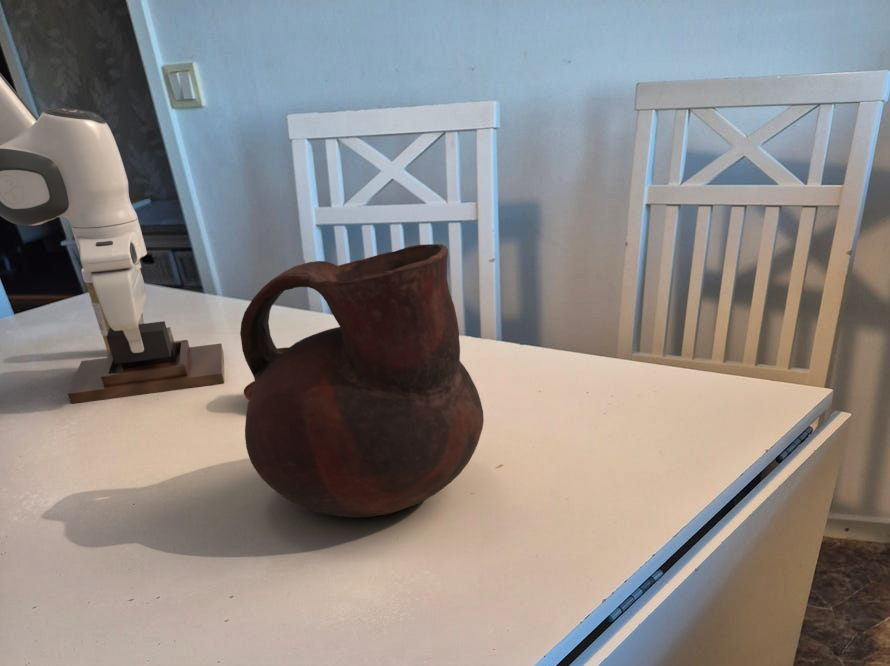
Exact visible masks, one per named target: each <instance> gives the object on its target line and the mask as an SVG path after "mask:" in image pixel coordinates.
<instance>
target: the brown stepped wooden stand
mask: <svg viewBox="0 0 890 666" xmlns="http://www.w3.org/2000/svg"><path fill="white" fill-rule="evenodd" d="M166 328H167V332H168V335H169V339H170V343H171V346H172V349H171V356H170V357H168V358H160V359H153V360H145V361H137V362H129V363H122V364H115V363H114V360H113V357H112V354H111V351H110V352H109V354H108V355H107V357H102V358H94V359H86V360H81V361H80V364H79V365H78V368H77V369H76V372H75V375H74V377H73V380H72V381H71V385H70V386H69V388H68V391H67V397H68V400H69V402H70V404H71V405H73V404H80V403H85V402H94V401H101V400H108V399H109V400H110V399H117V398H124V397H131V396H138V395H139V396H140V395H147V394H153V393H154V394H155V393H160V392H169V391H176V390H183V389H191V388H199V387H205V386H212V385H213V386H215V385H220V384H225V365H224V364H225V363H224V361H225V359H224V357H225V356H224V348H223V344H222V343H213V344H205V345H196V346H190V344H189V340H188V339H181V340H174V336H173V332H172V329H171V328H172V327H170V326H168V327H166Z"/></svg>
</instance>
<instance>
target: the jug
mask: <svg viewBox="0 0 890 666" xmlns="http://www.w3.org/2000/svg"><path fill="white" fill-rule="evenodd" d="M448 254H449V249H448V247H447V246H446V245H444V244H440V243H437V244H436V243H431V244H429V243H428V244H427V243H426V244H413V245H410V246H407V247H404V248H401V249H398V250H395V251H387V252H384V253H380V254H377V255H373V256H369V257H366V258H363V259H359V260H354V261H350V262H345V263H342V264H339V265H337V264H335V263H332V262H330V261H327V260H315V261H308V262H305V263H301V264H297V265H294V266H292V267H290V268H288V269H287V270H284V271H283V272H281V273H280V274H278V275H277V276H275V277H274V278H272V279H271V280H270V281H269V282H268V283H266V284H265V285H264V286H263V287H262V288H261V289H260V290H259V291H258V292H257V293H256V294H255V295H254V296H253V298H252V299H251V301H250V303H249V304H248V306H247V307H246V309H245V311H244V313H243V316H242V319H241V323H240V332H239V333H240V341H241V349H242V353H243V356H244V359H245V362H246V364H247V366H248V368H249V370H250V373H251V374H252V376H253V378H254V381H255V385H254V388H253V391H252V394H251V397H250V400H248V403H247V408H246V414H245V425H244V440H245V449H246V451H247V452H246V453H247V455H248V458H249V460H250V463H251V465H252V466H253V468H254V470H255V472H256V473H257V474H258V475H259V477H260V478H261V479H262V480H263V481H264V483H266V484H267V485H268V486H269V487H270V488H271V489H272V490H273V491H275V492H276V493H277V494H278V495H280V496H281V497H283V499H286V500H287V501H289V502H291V503H293V504H295V505H298V506H300V507H302V508H304V509H306V510H309V511H311V512H314V513H318V514H324V515H329V516H337V517H346V518H368V517H376V516H386V515H390V514H393V513H397V512H399V511H402V510H404V509H407V508H410V507H412V506H413V507H414V506H416V505H418V504H420V503H423V502H424V501H426V500H428V499H430V498H431V497H433V496H435V495H436V494H438V493H439V492H440V491H442V490H443V489H445V488H446V487H447V486H449V484H451V483H452V482H453V481H454V480H455V479H456V478H457V477H458V476H459V475H460V474H461V473H462V472H463V470H464V469H465V468H466V467H467V466H468V464H469V462H470V460H471V459H472V457H473V455H474V454H475V451H476V449H477V447H478V444H479V442H480V438H481V436H482V431H483V429H484V421H485V419H484V409H483V405H482V400H481V398H480V395H479V394H480V393H479V391H478V389H477V387H476V385H475V383H474V380H473V379H472V377H471V374H470V372H468V370H467V368H466V367H465V365H464V364H463V362H461V344H460V343H461V342H460V329H459V321H458V317H457V312H456V308H455V304H454V301H453V298H452V296H451V293H450V289H449V288H450V287H449V281H448V256H449V255H448ZM296 288H297V289H298V288H310V289H311V290H312V289H313V290H314V291H316V292H317V293H319V295H321V297H322V298H323V299H324V300H325V302H326V304H327V306H328V308H329V310H330V312H331V314H332V316H333V317H334V319H335V321H336V323H337V324H338V326H336V327H333V328H329V329H326V330H322V331H320V332H316V333H315V334H314V333H313V334H311V335H308V336H306V337H304V338H302V339H300V340H299V341H297V342H294V343H293V344H292V345H291V346H289V348H288V349H287V350H286V351H285V352H283V353H281V352H279V351H278V350H277V348H278V347H276V345H275V343H274V340H273V338H272V336H271V329H270V324H269V322H270V315H271V314H270V313H271V309H272V307H273V306H274V304H275V303H276V302H277V300H278V299H279V297H280V296H281V295H282V294H284V292H285V291H289V290H293V289H296Z"/></svg>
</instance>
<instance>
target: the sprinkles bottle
mask: <svg viewBox="0 0 890 666" xmlns="http://www.w3.org/2000/svg"><path fill="white" fill-rule="evenodd" d="M80 273H81V276H82V279H83V282H84V283H85V285H86V288H87V291H88V294H89V297H90V302H91V305H92V309H93V312H94V315H95V318H96V322H97V325H98V328H99V331H100V333H101V335H102V338H103V341H104V345H105V348H106V353H107V354H108V355H109V352H110V347H109V344H108V341H107V338H106V337H107V334H108V331H109V329H110V328H111V327H110V325H109V323H108V321H107V319H106V317H105V314H104V312H103V309H102V307H101V304H100V302H99V299H98V296H97V294H96V291H95V289H94V286H93V283H92V280H91V275H90V273H91V272H90V273H86V272H85V271H84V270H83V268H81V270H80Z"/></svg>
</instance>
